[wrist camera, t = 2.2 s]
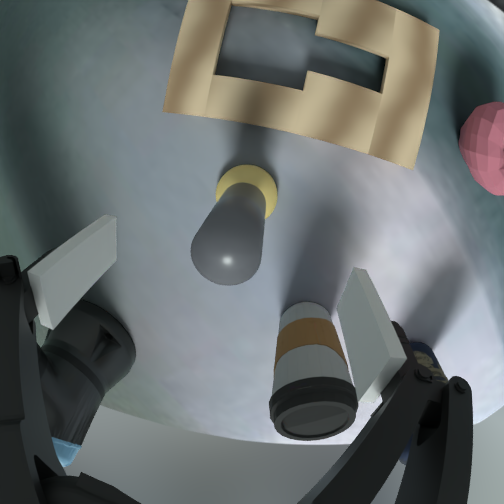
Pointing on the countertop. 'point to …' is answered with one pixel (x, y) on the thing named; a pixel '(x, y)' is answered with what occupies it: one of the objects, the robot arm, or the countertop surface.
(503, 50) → the countertop surface
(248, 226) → the peg
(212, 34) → the keyhole board
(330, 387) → the coffee cup
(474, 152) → the apple
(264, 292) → the countertop surface
